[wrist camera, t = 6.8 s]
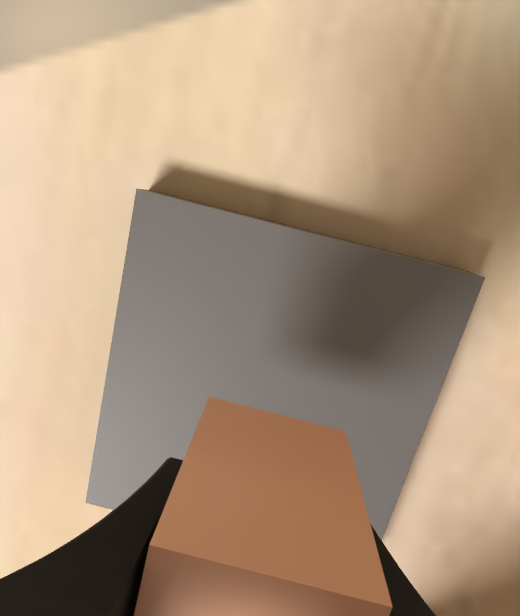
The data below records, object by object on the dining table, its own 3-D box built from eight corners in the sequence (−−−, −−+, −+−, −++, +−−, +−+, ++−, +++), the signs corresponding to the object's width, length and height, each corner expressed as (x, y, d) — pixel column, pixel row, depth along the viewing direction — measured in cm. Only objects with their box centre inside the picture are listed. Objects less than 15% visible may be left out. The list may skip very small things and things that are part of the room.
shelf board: (362, 550, 22) (367, 574, 21) (98, 483, 22) (85, 502, 21) (469, 272, 18) (484, 277, 17) (148, 190, 18) (136, 188, 17)
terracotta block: (307, 543, 14) (322, 771, 9) (181, 511, 14) (111, 717, 9) (345, 431, 13) (392, 607, 7) (209, 396, 13) (149, 544, 7)
